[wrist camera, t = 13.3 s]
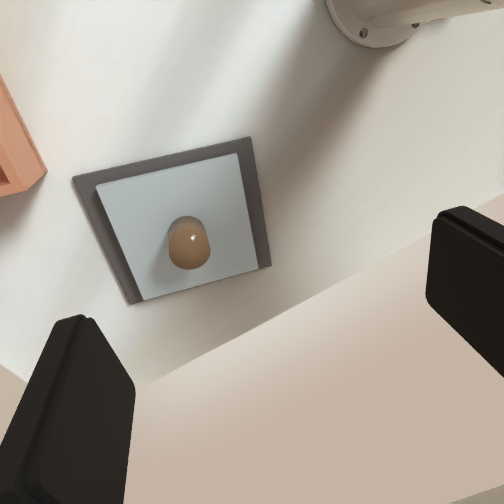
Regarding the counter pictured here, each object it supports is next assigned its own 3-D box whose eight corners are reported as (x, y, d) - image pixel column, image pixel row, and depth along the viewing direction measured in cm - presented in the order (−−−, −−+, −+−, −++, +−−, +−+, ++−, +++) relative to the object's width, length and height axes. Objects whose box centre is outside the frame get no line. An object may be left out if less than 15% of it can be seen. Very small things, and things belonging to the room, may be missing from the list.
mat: (249, 136, 35) (250, 137, 34) (270, 263, 43) (271, 265, 43) (73, 176, 33) (72, 178, 32) (130, 301, 41) (129, 304, 40)
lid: (234, 151, 35) (246, 165, 30) (255, 263, 42) (268, 289, 37) (98, 183, 33) (87, 203, 28) (144, 293, 40) (141, 325, 35)
